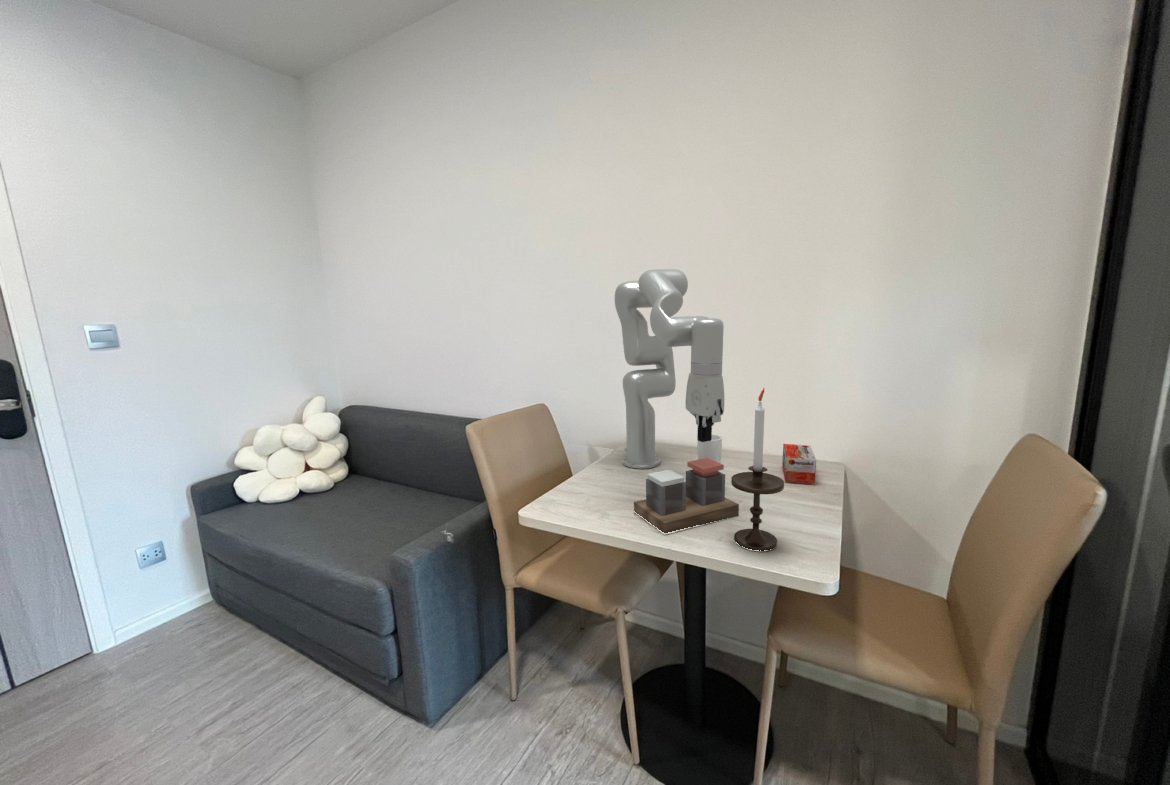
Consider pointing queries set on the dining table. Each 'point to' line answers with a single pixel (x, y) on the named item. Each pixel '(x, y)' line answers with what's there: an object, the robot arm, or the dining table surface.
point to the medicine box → (799, 464)
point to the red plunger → (705, 467)
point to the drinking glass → (710, 449)
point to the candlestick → (757, 490)
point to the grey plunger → (665, 478)
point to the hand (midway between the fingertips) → (704, 440)
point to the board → (686, 503)
